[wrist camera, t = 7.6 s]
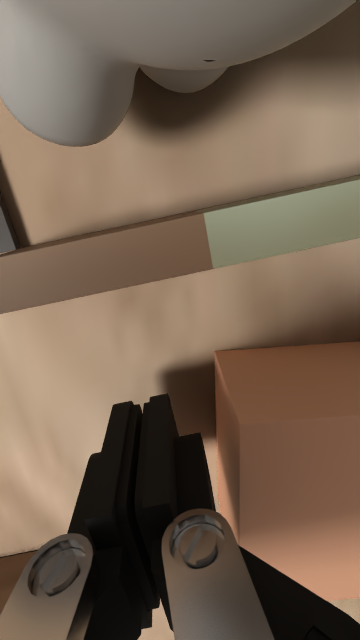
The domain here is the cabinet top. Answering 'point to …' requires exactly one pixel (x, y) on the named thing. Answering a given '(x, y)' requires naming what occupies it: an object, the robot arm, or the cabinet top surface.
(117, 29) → the toy rhinoceros
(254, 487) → the salmon block
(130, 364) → the cabinet top surface
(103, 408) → the cabinet top surface
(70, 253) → the trap lane
